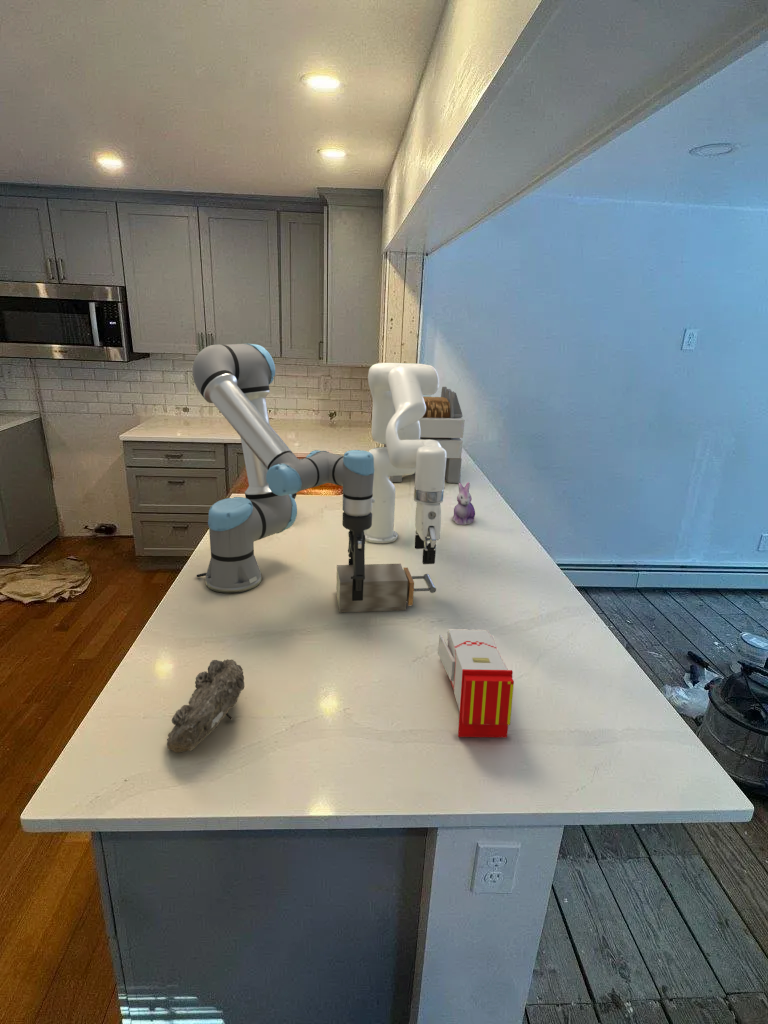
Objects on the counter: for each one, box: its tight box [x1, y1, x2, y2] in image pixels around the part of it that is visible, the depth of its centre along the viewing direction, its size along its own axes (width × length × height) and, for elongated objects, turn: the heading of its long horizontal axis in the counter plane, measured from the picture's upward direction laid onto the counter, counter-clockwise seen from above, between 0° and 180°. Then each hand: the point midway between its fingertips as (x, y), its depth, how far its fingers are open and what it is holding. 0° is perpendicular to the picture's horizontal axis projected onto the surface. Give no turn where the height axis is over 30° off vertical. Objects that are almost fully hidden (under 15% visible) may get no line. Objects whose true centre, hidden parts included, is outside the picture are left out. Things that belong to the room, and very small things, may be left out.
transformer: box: [383, 386, 465, 484], centre depth 268 cm, size 34×33×41 cm
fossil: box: [166, 658, 245, 754], centre depth 106 cm, size 22×10×15 cm
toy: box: [437, 628, 515, 738], centre depth 117 cm, size 12×13×30 cm
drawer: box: [403, 567, 437, 607], centre depth 152 cm, size 23×9×7 cm, turn 99°
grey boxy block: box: [335, 563, 408, 614], centre depth 152 cm, size 18×10×9 cm, turn 99°
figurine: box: [452, 481, 476, 526], centre depth 212 cm, size 9×10×15 cm
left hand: (355, 589), depth 151 cm, fingers closed on grey boxy block, 10 cm apart
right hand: (424, 555), depth 151 cm, fingers open, 9 cm apart
